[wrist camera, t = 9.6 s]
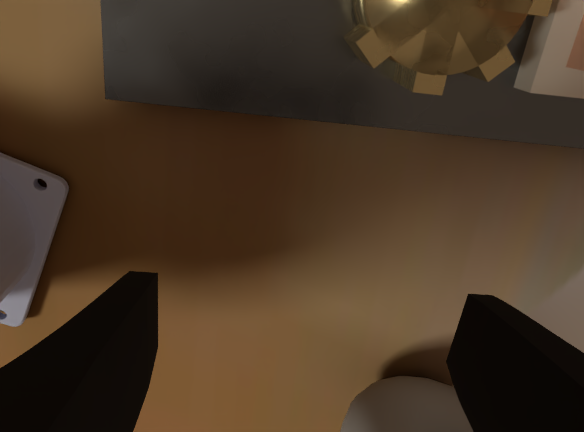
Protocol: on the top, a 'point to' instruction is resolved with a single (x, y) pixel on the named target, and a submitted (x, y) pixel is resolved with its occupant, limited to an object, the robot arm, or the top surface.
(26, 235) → the robot arm
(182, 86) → the carrier plate
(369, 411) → the donut
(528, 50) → the square sleeve on tile
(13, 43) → the top surface
